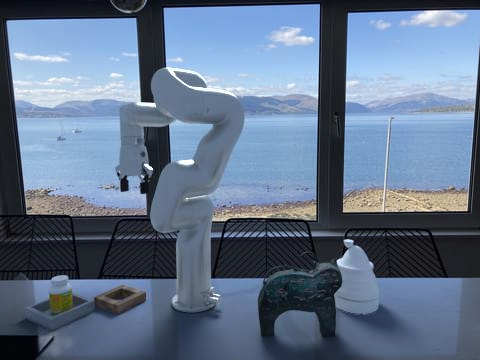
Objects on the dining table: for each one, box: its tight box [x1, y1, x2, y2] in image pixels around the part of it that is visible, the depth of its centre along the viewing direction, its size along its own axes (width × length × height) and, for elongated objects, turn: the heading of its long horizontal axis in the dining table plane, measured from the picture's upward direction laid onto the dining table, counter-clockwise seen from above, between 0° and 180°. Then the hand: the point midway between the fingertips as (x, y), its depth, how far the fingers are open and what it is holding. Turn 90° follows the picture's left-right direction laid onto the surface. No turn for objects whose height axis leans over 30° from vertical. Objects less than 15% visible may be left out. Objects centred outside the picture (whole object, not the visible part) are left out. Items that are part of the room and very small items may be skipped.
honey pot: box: [334, 238, 380, 315], centre depth 99 cm, size 13×13×18 cm
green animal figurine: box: [257, 251, 343, 338], centre depth 84 cm, size 20×6×20 cm, turn 90°
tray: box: [24, 292, 96, 332], centre depth 94 cm, size 12×12×3 cm
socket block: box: [93, 284, 147, 315], centre depth 101 cm, size 10×10×2 cm
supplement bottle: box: [48, 274, 73, 317], centre depth 94 cm, size 5×5×10 cm
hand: (134, 192), depth 121 cm, fingers open, 9 cm apart
